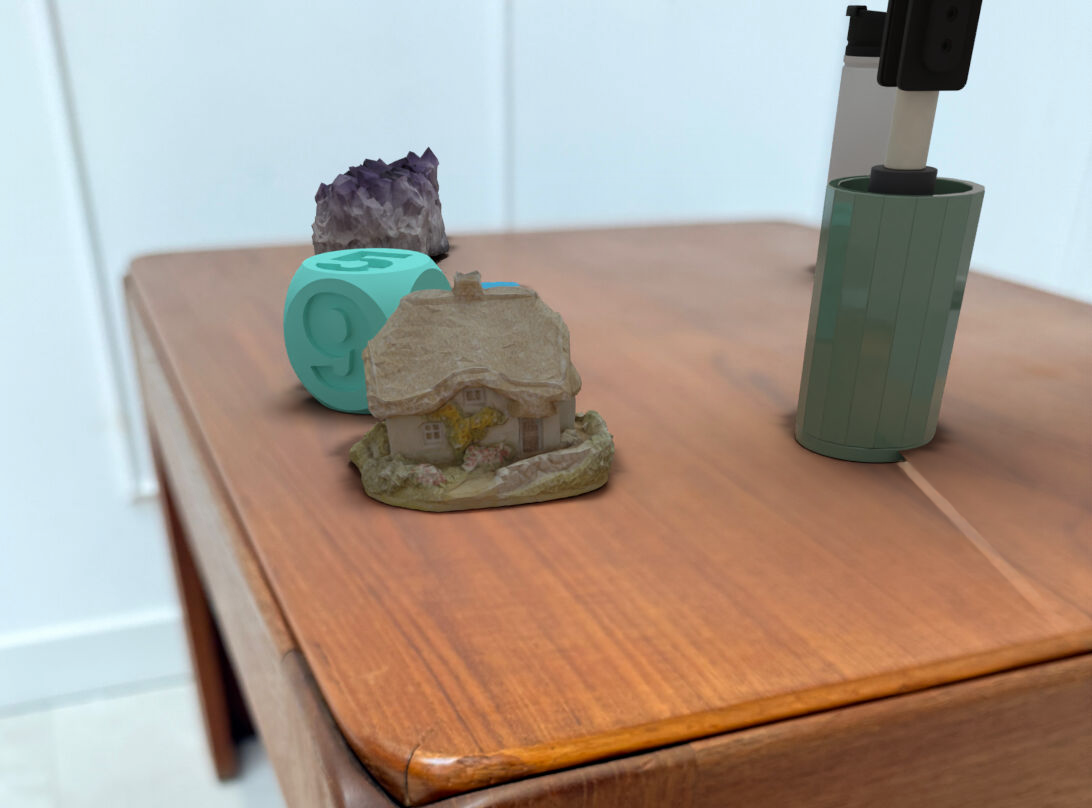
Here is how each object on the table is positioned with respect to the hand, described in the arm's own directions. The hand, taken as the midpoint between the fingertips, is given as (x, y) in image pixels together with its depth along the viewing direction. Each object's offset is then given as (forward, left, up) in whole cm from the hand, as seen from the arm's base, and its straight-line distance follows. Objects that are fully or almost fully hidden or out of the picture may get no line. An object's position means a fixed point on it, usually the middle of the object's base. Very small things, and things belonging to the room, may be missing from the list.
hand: (919, 84), depth 52 cm
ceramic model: (+22, +3, -18) cm, 28 cm away
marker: (0, 0, -10) cm, 10 cm away
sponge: (+20, -32, -18) cm, 42 cm away
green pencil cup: (0, 0, -17) cm, 17 cm away
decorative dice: (+28, -11, -18) cm, 35 cm away
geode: (+29, -54, -18) cm, 64 cm away
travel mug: (-12, -41, -18) cm, 46 cm away
